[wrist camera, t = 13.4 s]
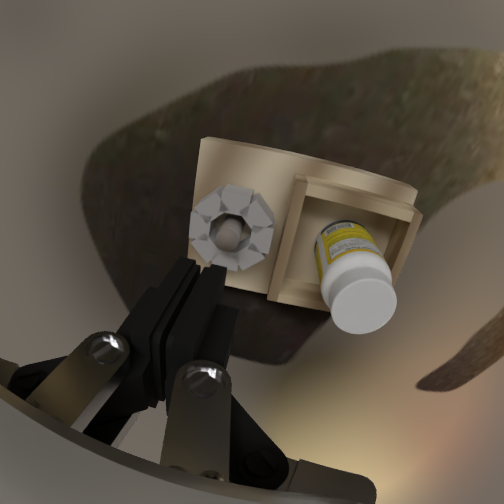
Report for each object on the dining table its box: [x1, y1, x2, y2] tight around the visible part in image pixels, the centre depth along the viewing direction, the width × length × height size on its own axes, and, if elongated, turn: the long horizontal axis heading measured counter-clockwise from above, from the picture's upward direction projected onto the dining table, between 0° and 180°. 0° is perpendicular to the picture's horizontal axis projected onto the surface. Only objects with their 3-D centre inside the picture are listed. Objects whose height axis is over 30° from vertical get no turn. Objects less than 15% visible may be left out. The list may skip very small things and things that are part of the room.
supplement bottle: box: [314, 219, 397, 334], centre depth 20 cm, size 5×5×8 cm
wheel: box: [189, 184, 275, 271], centre depth 23 cm, size 6×6×2 cm
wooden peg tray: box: [188, 137, 423, 312], centre depth 23 cm, size 17×12×6 cm
